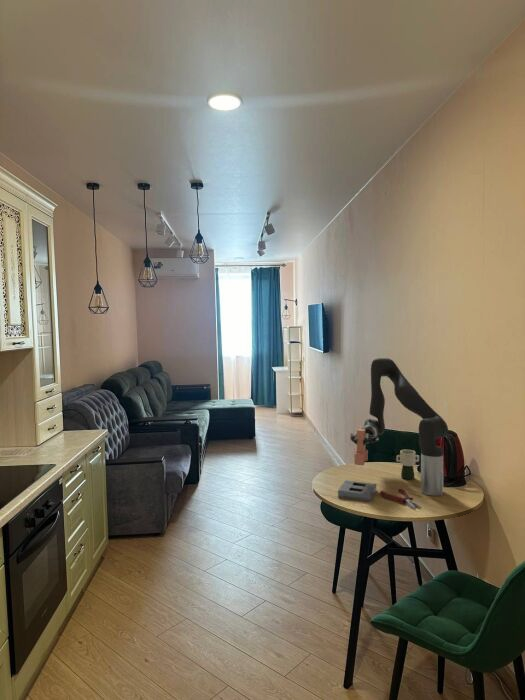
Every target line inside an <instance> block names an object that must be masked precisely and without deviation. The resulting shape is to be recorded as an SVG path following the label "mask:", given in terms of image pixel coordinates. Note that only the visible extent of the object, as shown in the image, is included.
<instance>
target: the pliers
mask: <svg viewBox="0 0 525 700" xmlns="http://www.w3.org/2000/svg"><path fill="white" fill-rule="evenodd" d="M397 492H398V493H400V494H401V495H403V496H404V497H402V496H397V495H394V494H389V493H387V492H385V491H384V490H381V491H380V492H379V496H380V497H382V498H384V499H385V500H387V501H388V500H389V501H392V502H396V503H400V505H406V506H408V507H410V508H412V509H413V510H417V508H419V509H422V508H423V507H422V506H421V505H419V504H418V503H417V502H415V501H414V499H413V497H411V496H409V493H408V492H407V491H406V490H405V489H403V488H399V487H398V489H397Z"/></svg>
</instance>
